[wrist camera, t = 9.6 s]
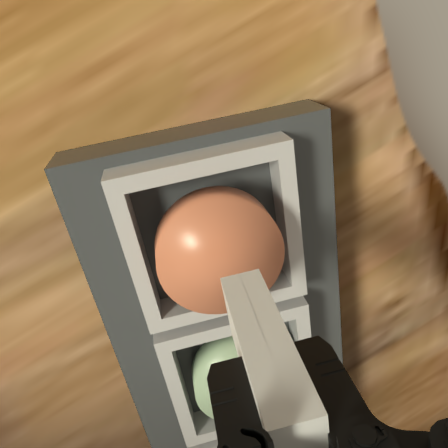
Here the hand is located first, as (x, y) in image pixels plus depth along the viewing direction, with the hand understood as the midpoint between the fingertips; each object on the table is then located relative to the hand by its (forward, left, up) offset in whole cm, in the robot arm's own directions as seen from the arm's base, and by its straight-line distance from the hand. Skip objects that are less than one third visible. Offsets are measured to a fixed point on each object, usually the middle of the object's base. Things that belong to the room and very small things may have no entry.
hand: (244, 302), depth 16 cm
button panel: (0, -10, -10) cm, 14 cm away
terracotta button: (0, 0, -5) cm, 5 cm away
